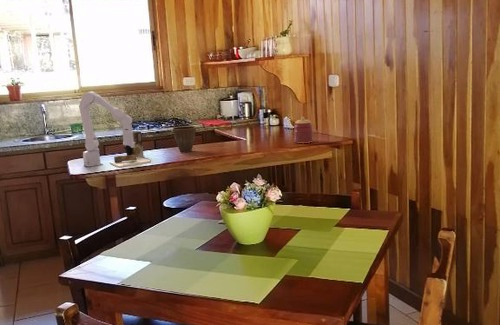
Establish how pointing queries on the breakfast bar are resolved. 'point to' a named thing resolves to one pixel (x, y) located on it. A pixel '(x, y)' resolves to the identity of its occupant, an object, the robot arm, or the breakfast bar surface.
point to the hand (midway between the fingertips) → (129, 157)
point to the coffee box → (137, 144)
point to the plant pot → (184, 137)
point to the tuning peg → (125, 158)
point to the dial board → (130, 162)
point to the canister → (303, 130)
